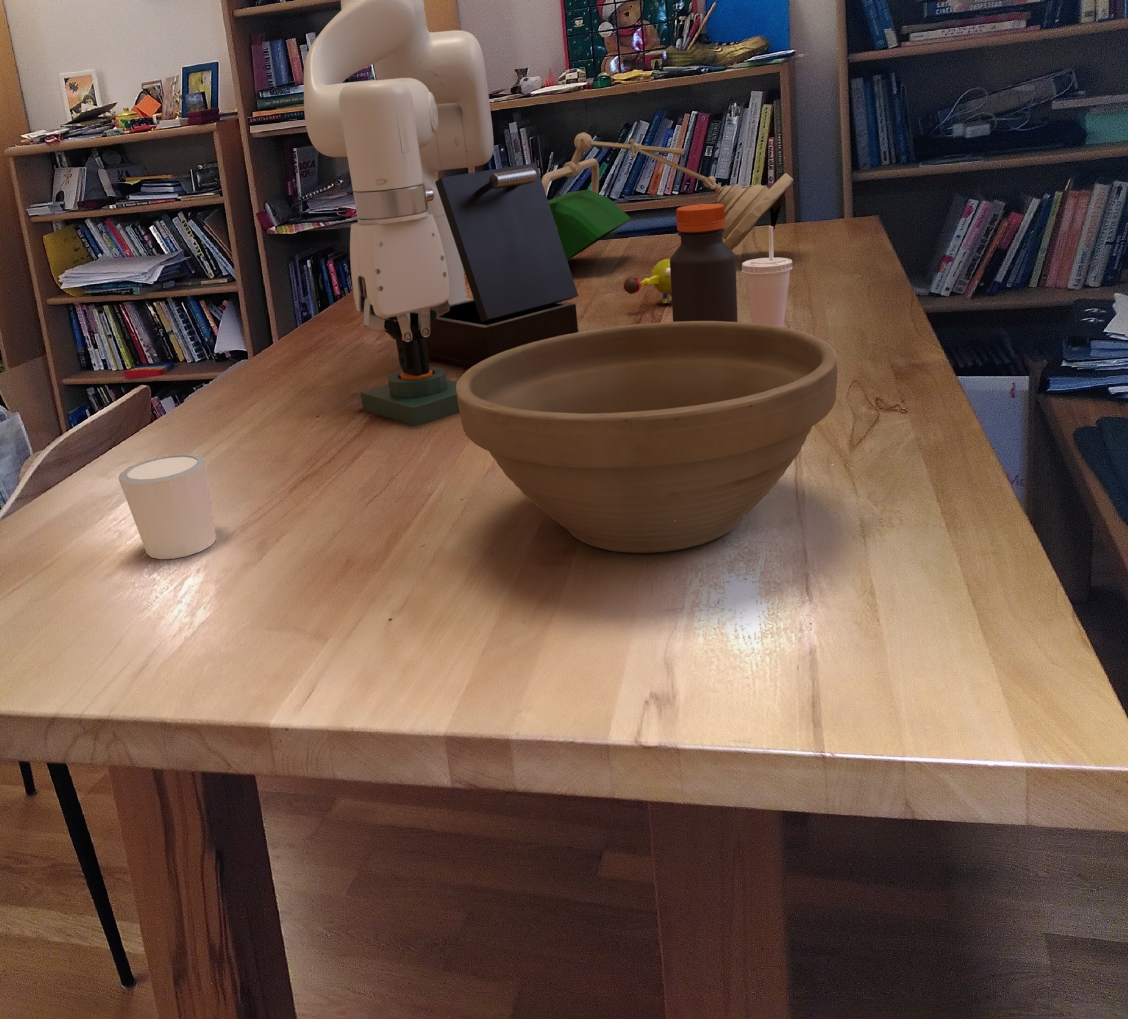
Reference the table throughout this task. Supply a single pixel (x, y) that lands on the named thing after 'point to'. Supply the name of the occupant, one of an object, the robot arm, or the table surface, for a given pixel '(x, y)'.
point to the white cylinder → (171, 505)
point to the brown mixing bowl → (650, 425)
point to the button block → (413, 398)
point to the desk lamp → (597, 216)
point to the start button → (411, 377)
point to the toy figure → (653, 280)
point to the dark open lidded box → (494, 332)
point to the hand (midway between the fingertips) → (416, 372)
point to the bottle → (703, 267)
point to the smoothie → (767, 287)
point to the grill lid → (506, 240)
